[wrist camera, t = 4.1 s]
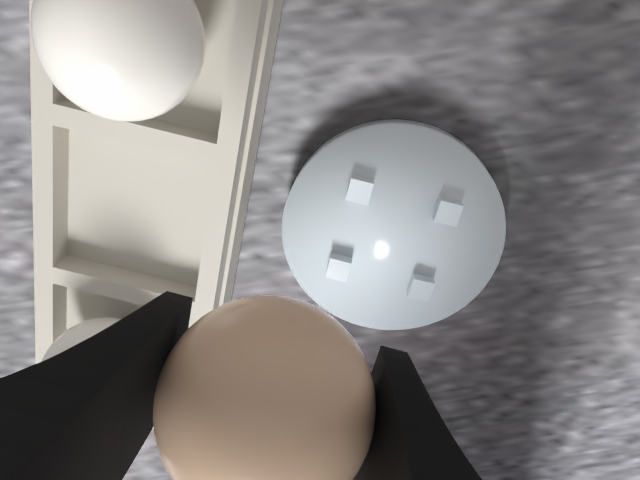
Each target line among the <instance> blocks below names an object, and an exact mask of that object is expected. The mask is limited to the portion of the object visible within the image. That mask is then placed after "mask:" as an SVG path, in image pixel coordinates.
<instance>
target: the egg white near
mask: <svg viewBox="0 0 640 480" xmlns="http://www.w3.org/2000/svg"><path fill="white" fill-rule="evenodd" d="M30 27H31V36H32V42H33V46H34V49H35V52H36V55H37V58H38V60H39V62H40V65H41V66H42V68H43V70H44V72H45V73H46V75H47V76H48V78H49V79H50V81H51V82H52V83H53V84H54V86H55V87H56V88H57V89H58V90H59V91H60V92H61V93H62V94H63V95H64V96H65V97H66V98H68V99H69V100H70V101H72V102H73V103H74V104H76V105H77V106H79V107H80V108H82V109H84V110H86V111H88V112H90V113H92V114H94V115H97V116H100V117H103V118H107V119H111V120H116V121H143V120H147V119H151V118H154V117H157V116H160V115H162V114H165V113H166V112H168V111H170V110H171V109H173V108H174V107H176V106H177V105H178V104H179V103H180V102H182V101H183V100H184V99H185V98H186V97H187V95H188V94H189V93H190V92H191V90H192V89H193V87H194V86H195V84H196V82H197V80H198V78H199V76H200V73H201V70H202V67H203V63H204V58H205V32H204V27H203V22H202V19H201V16H200V13H199V10H198V8H197V6H196V3H195V1H194V0H33V3H32V8H31V16H30Z"/></svg>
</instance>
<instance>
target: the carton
mask: <svg viewBox="0 0 640 480" xmlns="http://www.w3.org/2000/svg"><path fill="white" fill-rule="evenodd" d="M194 1H195V3H196V6H197V8H198V10H199V13H200V16H201V19H202V22H203V27H204V32H205V58H204V63H203V67H202V70H201V73H200V76H199V78H198V80H197V82H196V84H195V86H194V87H193V89H192V90H191V92H190V93H189V94H188V95H187V97H186V98H185V99H184V100H183V101H182V102H180V103H179V104H178V105H177V106H176V107H174V108H173V109H171V110H170V111H168V112H166V113H165V114H162V115H160V116H157V117H154V118H151V119H147V120H143V121H116V120H111V119H107V118H103V117H100V116H97V115H94V114H92V113H90V112H88V111H86V110H84V109H82V108H80V107H79V106H77V105H76V104H74V103H73V102H72V101H70V100H69V99H68V98H66V97H65V96H64V95H63V94H62V93H61V92H60V91H59V90H58V89H57V88H56V87H55V86H54V84H53V83H52V82H51V81H50V79H49V78H48V76H47V75H46V73H45V72H44V70H43V68H42V66H41V65H40V62H39V60H38V58H37V55H36V52H35V49H34V46H33V42H32V36H31V27H30V77H31V132H32V186H33V241H34V295H35V350H36V364H37V363H40V362H41V361H42V359H43V357H44V355H45V353H46V351H47V350H48V348H49V347H50V346H51V344H52V343H53V342H54V341H55V340H56V339H57V338H58V337H59V336H60V335H61V334H62V333H63V332H65V331H66V330H68V329H69V328H71V327H72V326H74V325H76V324H78V323H80V322H83V321H85V320H89V319H93V318H98V317H118V318H124V317H126V316H127V315H129V314H131V313H132V312H134V311H135V310H137V309H139V308H140V307H142V306H143V305H145V304H146V303H148V302H150V301H151V300H153V299H154V298H156V297H158V296H159V295H161V294H163V293H164V292H166V291H169V292H173V293H177V294H181V295H185V296H188V297H192V298H193V300H192V307H191V314H190V320H189V327H191V326H192V325H193V324H194V323H195V322H196V321H197V320H199V319H200V318H201V317H202V316H204V315H205V314H207V313H209V312H210V311H212V310H214V309H215V308H217V307H219V306H221V305H223V304H225V303H228V302H230V301H231V299H232V293H233V287H234V281H235V276H236V270H237V264H238V259H239V253H240V247H241V242H242V236H243V230H244V224H245V219H246V213H247V207H248V202H249V196H250V190H251V184H252V179H253V173H254V167H255V162H256V156H257V150H258V144H259V139H260V133H261V127H262V122H263V116H264V110H265V104H266V99H267V93H268V87H269V82H270V76H271V70H272V64H273V59H274V53H275V47H276V42H277V36H278V30H279V24H280V19H281V13H282V7H283V2H284V0H194ZM32 3H33V0H29V23H30V16H31V8H32ZM189 327H188V328H189ZM152 429H154V427H153V428H152Z"/></svg>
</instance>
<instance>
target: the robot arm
mask: <svg viewBox="0 0 640 480" xmlns="http://www.w3.org/2000/svg"><path fill="white" fill-rule="evenodd" d="M192 300H193V298H192V297H188V296H185V295H181V294H177V293H173V292H169V291H166V292H164V293H163V294H161V295H159V296H158V297H156V298H154V299H153V300H151V301H150V302H148V303H146V304H145V305H143V306H142V307H140V308H139V309H137V310H135V311H134V312H132V313H131V314H129V315H127V316H126V317H124V318H122V319H121V320H119V321H117V322H116V323H114V324H112V325H111V326H109V327H107V328H106V329H104V330H102V331H100V332H99V333H97V334H95V335H93V336H92V337H90V338H88V339H86V340H84V341H82V342H80V343H78V344H76V345H75V346H73V347H71V348H69V349H67V350H65V351H63V352H61V353H59V354H57V355H55V356H53V357H51V358H49V359H46V360H44V361H42V362H40V363H37V364H35V365H32V366H30V367H28V368H25V369H23V370H21V371H18V372H16V373H13V374H11V375H8V376H5V377H3V378H0V480H122V479H123V477H124V476H125V474H126V472H127V471H128V469H129V467H130V466H131V464H132V462H133V460H134V459H135V457H136V455H137V454H138V452H139V450H140V449H141V447H142V445H143V444H144V442H145V440H146V439H147V437H148V435H149V433H150V432H151V430H152V428H153V427H154V426H153V404H154V395H155V390H156V386H157V382H158V378H159V375H160V372H161V370H162V368H163V365H164V363H165V361H166V359H167V357H168V355H169V353H170V352H171V350H172V348H173V347H174V345H175V344H176V343H177V341H178V340H179V338H180V337H181V336H182V335H183V334H184V333H185V332H186V330H187V329H188V327H189V320H190V314H191V307H192ZM371 375H372V378H373V383H374V387H375V397H376V418H375V427H374V433H373V437H372V440H371V444H370V447H369V451H368V453H367V455H366V457H365V459H364V461H363V463H362V466H361V468H360V470H359V472H358V473H357V474H356V476H355V477H354V479H353V480H482V479H481V478H480V477H479V475H478V474H477V473H476V471H475V470H474V468H473V467H472V466H471V464H470V463H469V461H468V460H467V458H466V457H465V455H464V454H463V452H462V451H461V449H460V448H459V446H458V445H457V443H456V441H455V440H454V438H453V437H452V435H451V433H450V432H449V430H448V428H447V427H446V425H445V423H444V421H443V420H442V418H441V416H440V414H439V413H438V411H437V409H436V407H435V406H434V404H433V402H432V400H431V398H430V396H429V394H428V392H427V390H426V389H425V387H424V385H423V383H422V381H421V379H420V377H419V375H418V373H417V371H416V369H415V367H414V365H413V363H412V361H411V359H410V357H409V355H408V353H407V352H403V351H399V350H395V349H391V348H388V347H384V346H381V348H380V350H379V353H378V356H377V359H376V362H375V365H374V367H373V370H372V373H371Z"/></svg>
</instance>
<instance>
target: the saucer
mask: <svg viewBox="0 0 640 480" xmlns="http://www.w3.org/2000/svg"><path fill="white" fill-rule="evenodd" d="M505 238H506V218H505V210H504V206H503V202H502V199H501V196H500V193H499V191H498V189H497V186H496V184H495V182H494V181H493V179H492V178H491V176H490V174H489V173H488V171H487V170H486V168H485V166H484V165H483V163H482V162H481V160H480V159H479V158H478V157H477V156H476V155H475V153H474V152H473V151H472V150H471V149H470V148H469V147H467V146H466V145H465V144H464V143H463V142H462V141H460V140H459V139H457V138H456V137H454V136H453V135H451V134H450V133H448V132H446V131H444V130H441V129H439V128H437V127H435V126H432V125H428V124H425V123H422V122H417V121H411V120H400V119H388V120H377V121H372V122H368V123H363V124H360V125H357V126H355V127H352V128H349V129H347V130H345V131H343V132H341V133H339V134H337V135H335V136H334V137H332V138H331V139H330V140H328V141H327V142H325V143H324V144H323V145H322V146H321V147H319V148H318V149H317V150H316V151H315V152H314V153H313V154H312V155H311V157H310V158H309V159H308V160H307V161H306V163H305V164H304V165H303V167H302V169H301V170H300V172H299V173H298V175H297V177H296V180H295V182H294V184H293V186H292V188H291V191H290V193H289V195H288V197H287V201H286V204H285V208H284V212H283V219H282V241H283V247H284V252H285V255H286V259H287V262H288V264H289V267H290V269H291V271H292V273H293V275H294V277H295V278H296V280H297V281H298V283H299V285H300V286H301V287H302V288H303V290H304V291H305V292H306V293H307V294H308V295H309V296H310V297H311V298H312V299H313V300H314V301H315V302H316V303H317V304H318V305H320V306H321V307H322V308H324V309H325V310H326V311H328V312H330V313H331V314H333V315H335V316H337V317H338V318H341V319H343V320H345V321H347V322H350V323H353V324H356V325H359V326H362V327H367V328H373V329H380V330H405V329H412V328H418V327H422V326H426V325H430V324H432V323H435V322H438V321H440V320H443V319H445V318H447V317H449V316H450V315H452V314H454V313H456V312H457V311H459V310H460V309H462V308H463V307H465V306H466V305H467V304H468V303H470V302H471V301H472V300H473V299H474V298H475V297H476V296H477V295H478V294H479V293H480V292H481V291H482V290H483V289H484V287H485V286H486V285H487V283H488V282H489V280H490V279H491V277H492V276H493V274H494V272H495V270H496V268H497V266H498V264H499V261H500V258H501V256H502V253H503V249H504V243H505Z"/></svg>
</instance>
